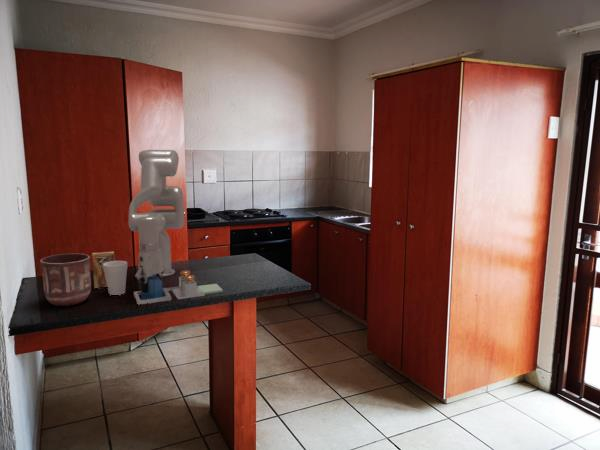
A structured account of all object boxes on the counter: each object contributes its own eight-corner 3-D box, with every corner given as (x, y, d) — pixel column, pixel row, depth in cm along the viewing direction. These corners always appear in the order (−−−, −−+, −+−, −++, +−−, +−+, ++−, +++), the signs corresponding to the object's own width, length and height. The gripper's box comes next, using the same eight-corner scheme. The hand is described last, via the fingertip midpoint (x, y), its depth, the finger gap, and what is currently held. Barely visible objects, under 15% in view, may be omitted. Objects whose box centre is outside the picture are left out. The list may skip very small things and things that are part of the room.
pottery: (41, 312, 172) (37, 265, 169) (45, 298, 188) (42, 255, 185) (92, 306, 179) (90, 261, 176) (93, 293, 195) (90, 251, 192)
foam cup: (114, 298, 188) (112, 267, 186) (100, 294, 192) (98, 264, 190) (133, 292, 196) (132, 262, 193) (119, 288, 200) (117, 259, 198)
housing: (137, 304, 180) (136, 290, 179) (133, 294, 192) (132, 281, 192) (204, 295, 191) (204, 282, 190) (196, 286, 204) (196, 273, 203)
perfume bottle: (155, 300, 185) (153, 271, 183) (141, 299, 186) (139, 271, 184) (162, 296, 191) (161, 267, 189) (149, 295, 192) (147, 267, 190)
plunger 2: (186, 294, 188) (185, 278, 187) (184, 291, 192) (183, 275, 191) (195, 293, 190) (195, 276, 189) (193, 290, 193) (193, 274, 192)
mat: (199, 294, 192) (199, 292, 192) (194, 288, 201) (194, 286, 201) (222, 291, 197) (222, 289, 197) (216, 285, 206) (216, 283, 205)
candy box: (116, 284, 207) (114, 251, 204) (116, 287, 203) (113, 253, 200) (94, 286, 204) (92, 252, 201) (94, 289, 200) (91, 254, 197)
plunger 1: (182, 289, 195) (181, 273, 194) (180, 286, 199) (179, 271, 198) (191, 288, 197) (190, 272, 196) (189, 285, 201) (188, 270, 199)
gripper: (141, 252, 176) (143, 296, 178) (171, 243, 191) (173, 285, 194) (126, 250, 179) (128, 294, 181) (157, 242, 194) (159, 282, 197)
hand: (151, 289), depth 188 cm, fingers closed on perfume bottle, 7 cm apart
